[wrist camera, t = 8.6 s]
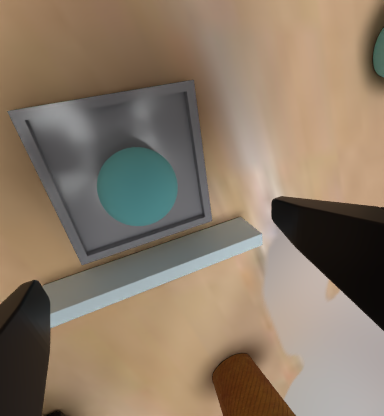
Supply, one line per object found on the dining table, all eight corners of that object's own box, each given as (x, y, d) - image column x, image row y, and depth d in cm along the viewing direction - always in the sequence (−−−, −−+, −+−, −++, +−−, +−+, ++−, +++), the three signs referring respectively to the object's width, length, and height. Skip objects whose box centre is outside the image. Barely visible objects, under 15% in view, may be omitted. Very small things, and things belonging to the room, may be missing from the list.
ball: (109, 216, 18) (115, 252, 13) (84, 151, 15) (83, 169, 11) (171, 197, 19) (195, 224, 15) (157, 134, 17) (180, 145, 12)
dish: (82, 256, 19) (82, 265, 18) (13, 110, 14) (7, 111, 13) (206, 215, 22) (212, 220, 21) (187, 81, 16) (193, 79, 15)
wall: (49, 295, 19) (41, 331, 16) (43, 285, 19) (33, 320, 16) (241, 226, 24) (262, 244, 21) (240, 216, 23) (262, 233, 20)
